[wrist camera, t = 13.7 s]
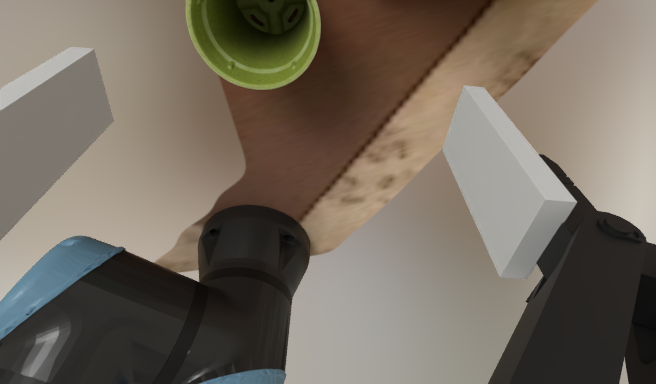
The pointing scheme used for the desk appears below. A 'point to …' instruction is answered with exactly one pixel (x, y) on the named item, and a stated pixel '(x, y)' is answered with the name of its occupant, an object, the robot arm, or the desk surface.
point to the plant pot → (255, 39)
